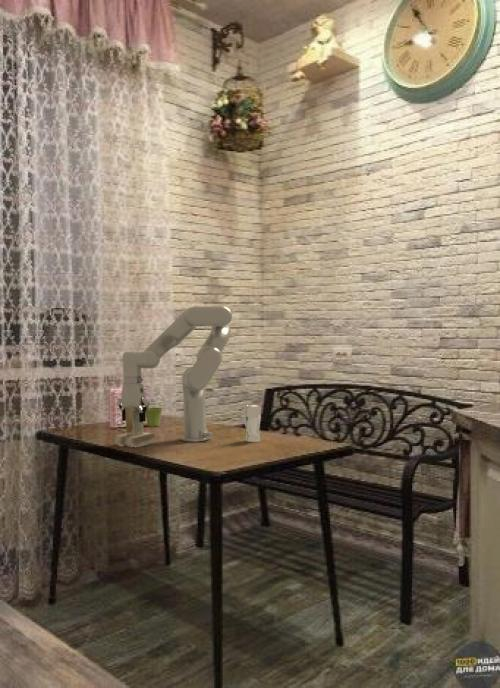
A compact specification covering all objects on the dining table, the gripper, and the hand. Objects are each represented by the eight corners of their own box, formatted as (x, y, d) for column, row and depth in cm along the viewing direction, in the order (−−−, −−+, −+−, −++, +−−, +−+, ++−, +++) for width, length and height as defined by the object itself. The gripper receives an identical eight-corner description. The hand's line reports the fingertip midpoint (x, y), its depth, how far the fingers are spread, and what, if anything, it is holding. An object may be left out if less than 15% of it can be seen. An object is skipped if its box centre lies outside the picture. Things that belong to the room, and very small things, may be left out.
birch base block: (154, 442, 255) (154, 433, 255) (135, 447, 245) (135, 438, 245) (133, 440, 261) (133, 431, 261) (114, 445, 251) (113, 436, 251)
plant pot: (165, 424, 305) (164, 407, 304) (160, 427, 295) (159, 409, 295) (147, 424, 306) (146, 407, 305) (142, 427, 296) (141, 410, 296)
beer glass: (259, 442, 249) (258, 406, 249) (243, 442, 250) (242, 406, 250) (262, 439, 256) (261, 404, 255) (246, 439, 257) (245, 404, 257)
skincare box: (136, 433, 257) (136, 404, 256) (144, 433, 254) (143, 405, 254) (125, 435, 251) (124, 406, 251) (132, 436, 249) (131, 407, 249)
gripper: (154, 380, 251) (155, 421, 251) (123, 379, 260) (124, 418, 260) (142, 382, 245) (143, 423, 245) (111, 381, 253) (112, 421, 254)
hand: (133, 421), depth 253 cm, fingers open, 9 cm apart
